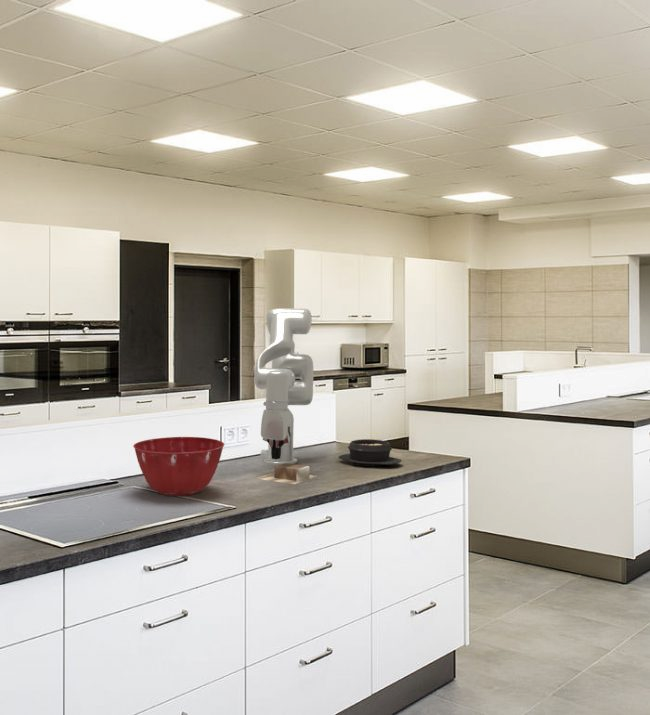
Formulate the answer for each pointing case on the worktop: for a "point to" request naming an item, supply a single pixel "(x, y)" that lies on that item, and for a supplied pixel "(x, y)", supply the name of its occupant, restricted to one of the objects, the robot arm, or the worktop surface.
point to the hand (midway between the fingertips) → (275, 458)
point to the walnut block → (291, 472)
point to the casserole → (370, 453)
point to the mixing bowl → (178, 463)
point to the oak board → (271, 478)
